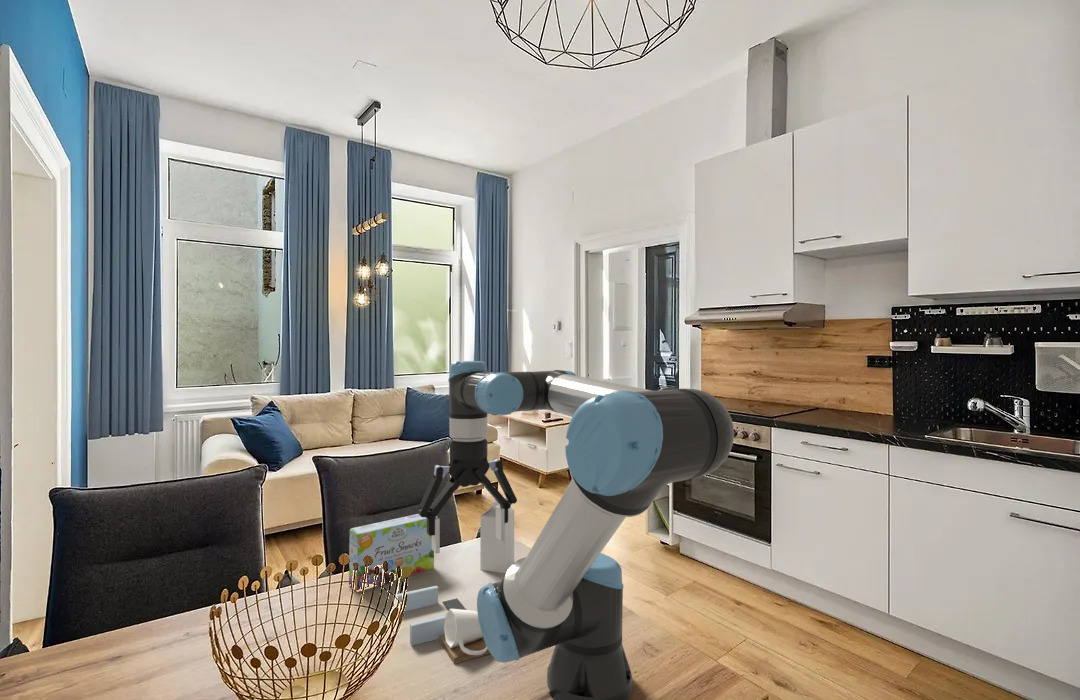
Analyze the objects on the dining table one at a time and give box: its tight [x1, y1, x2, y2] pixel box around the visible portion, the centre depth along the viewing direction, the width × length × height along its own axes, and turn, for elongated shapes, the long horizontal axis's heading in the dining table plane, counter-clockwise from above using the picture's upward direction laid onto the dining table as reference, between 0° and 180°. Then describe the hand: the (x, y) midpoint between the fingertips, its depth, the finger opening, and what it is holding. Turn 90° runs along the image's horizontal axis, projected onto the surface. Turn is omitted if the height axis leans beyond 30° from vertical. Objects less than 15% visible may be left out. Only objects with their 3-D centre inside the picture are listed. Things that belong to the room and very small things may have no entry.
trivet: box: [438, 635, 491, 665], centre depth 108 cm, size 9×9×1 cm
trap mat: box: [442, 598, 467, 612], centre depth 120 cm, size 13×4×1 cm, turn 28°
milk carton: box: [479, 494, 515, 574], centre depth 145 cm, size 7×7×19 cm
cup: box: [444, 609, 488, 655], centre depth 107 cm, size 7×10×8 cm
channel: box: [392, 585, 446, 647], centre depth 117 cm, size 15×10×4 cm, turn 28°
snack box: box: [348, 513, 435, 592], centre depth 138 cm, size 21×6×15 cm, turn 132°
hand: (468, 545), depth 107 cm, fingers open, 13 cm apart
